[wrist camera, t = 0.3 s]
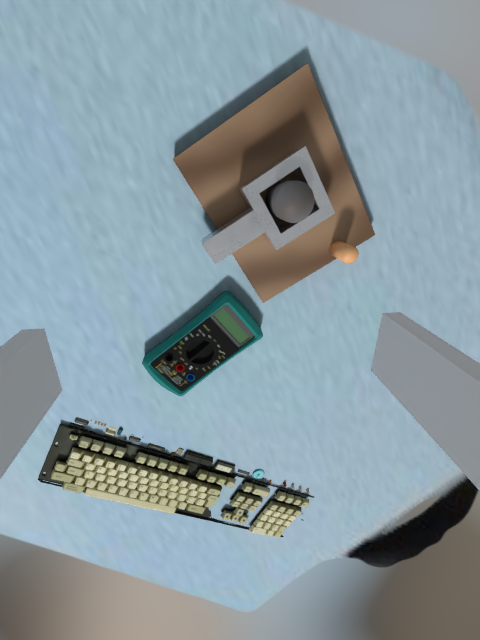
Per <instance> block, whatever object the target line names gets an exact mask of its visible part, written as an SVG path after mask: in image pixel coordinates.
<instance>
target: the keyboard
mask: <svg viewBox="0 0 480 640" xmlns="http://www.w3.org/2000/svg"><path fill="white" fill-rule="evenodd" d="M91 421H92V419H91ZM75 422H77V423H80V424H84V425H87V424H88V423H89V422H88V421H86V420H83V419H79V418H76V420H75ZM96 422H97V421H95V424H96ZM99 424H100V422H98V425H99ZM101 425H103V423H102V424H101ZM105 425H106V424H105ZM105 425H104V426H105ZM75 426H76V427H75ZM83 428H85V427H84V426H80V425H77V424H74V423H71V424H70V425H68V426H65V425H62V424H60V425H59V429H58V431H57V434H56V436H55V438H54V441H53V444H52V446H51V449H50V451H49V453H48V456H47V458H46V461H45V463H44V466H43V468H42V471H41V473H40V475H39V478H38V480H39V481H40V482H43V483H47V484H52V485H56V486H60V487H63V490H68V491H72V492H76V493H82V492H85V495H88V496H92V497H95V498H101V499H107V500H111V501H117V502H121V503H127V504H130V505H135V506H139V507H143V508H147V509H152V510H158V511H163V512H166V513H170V514H174V513H178V514H182V515H186V516H191V517H195V518H200V519H204V520H209V521H213V522H217V523H222V524H226V525H230V526H235V527H239V528H244V529H248V530H250V531H251V532H252V533H258V534H262V535H264V534H266V535H267V536H271V537H272V536H275V537H283V536H281V534H282V533H283V532H284V530H285V529H286V527H288V526H289V525H290V524H291V521H294V519H295V518H296V516H299V515H300V514H301V507H298V506H296V505H300V506H302V507H305V508H306V507H307V506H308V505H309V499H306V498H304V497H299V496H300V495H297V494H293V495H292V494H291V493H289V492H288V491H291V492H295V493H299V492H296V491H292V490H290V489H285V488H282V487H278V486H274V485H271V484H268V483H264V482H262V481H264V480H266V479H267V478H265V479H264V478H263V479H262V481H257V480H254V479H249V478H247V477H244V476H241V475H238V474H234V473H233V471H234V470H235V465H233V464H229V463H226V462H223V461H219V460H218V461H217V463H216V464H215V466H214V467H210V465H211V464H212V462H213V458H210V457H206V456H204V455H202V454H198V453H195V452H192V451H187V452H186V454H185V456H184V457H183V458H181V457H177V456H174V452H172V454H171V455H170V454H167V453H164V452H160V451H164V450H165V448H163V447H160V446H157V445H153V444H150V443H149V444H148V446H147V447H150V448H153V449H157V450H160V451H157V450H153V449H150V448H145V447H142V446H139V445H134V444H132V443H130V442H126V441H122V440H120V439H119V438H113V437H109V436H106V435H104V436H102V435H98V434H96V433H94V432H92V431H88V430H87V429H86V430H85V429H83ZM122 430H123V429H122V428H120V429H119V430H118V432H117V434H118V435H120V434H121V432H122ZM115 431H116V429H115V428H112V427H109V428H108V430H106V432H105V433H106V434H110V435H113V436H115ZM131 435H132V434H131ZM124 436H125V435H123V436H122V437H124ZM133 436H134V435H133ZM133 436H130V437H129V440H132V441H135V442H140V440H141V439H139V438H136V437H133ZM143 437H144V436H143ZM143 437H142V438H143ZM124 438H125V440H126V437H124ZM56 442H58V446H57V447H56V446H54V444H55V443H56ZM183 450H184V449H181V448H179V449H178V450H177V451H176V454H179V455H181V453H182V451H183ZM212 469H213V470H212ZM43 472H46V476H44V475H42V473H43ZM238 472H241V473H244V474H249V472H246V471H243V470H238ZM236 476H238V477H242V478H245V479H246V480H244V481H243V482H242V484H243V486H242V487H241V488H242V489H243V490H241V489H239V490H237V491H236V492H235V496H232V498H231V500H232V501H231V502H230V505H232V506H234V509H232V510H231V511H230V509H229V510H228V509H226V508H224V509H223V510H222V512H223V513H222V514H221V517H222V518H223V519H226V520H229V518H230V519H231V521H234V522H237V521H239V522H240V523H243V524H245V523H246V521H247V519H248V517H249V516H248V515H246V514H245V513H244V510H245V509H246V508H247V509H248V510H250V511H255V509H256V508H257V506H260V504H261V503H262V499H263V498H262V497H260V496H263V497H267V496H268V494H269V492H270V488H267V486H265V485H264V484H267V485H270V486H274V487H277V488H281V489H284V490H288V491H286V492H285V491H284V490H281V489H278V490H277V492H275V493H276V495H275V496H274V497H275V498H276V499H277V500H276V499H270V500H269V501H268V504H267V505H265V507H263V509H262V511H260V513H259V514H258V516H257V517H256V518H255V519H254V522H253V524H252V525H250V526H251V527H250V528H247V527H244V526H242V527H241V526H239V525H232V524H228V523H224V522H223V521H219V520H215V519H214V518H212V517H211V518H212V519H211V518H208V517H210V516H211V511H210V510H209V508H212V507H213V505H214V504H215V502H216V501H217V499H218V498H219V495H220V492H221V489H222V487H221V485H223V484H225V486H226V487H230V488H232V487H233V485H234V484H235V481H236V479H234V478H235V477H236ZM263 476H264V471H263V470H260V469H259V470H256V471H254V473H253V477H254V478H262V477H263ZM248 479H249V480H248ZM42 480H45V481H49V482H45V481H42ZM251 480H252V481H256V482H259V483H263V485H261V484H259V483H256V482H254V483H253V484H252V483H251V482H252V481H251ZM50 482H54V483H58V484H62V485H57V484H53V483H50ZM269 482H270V483H271V480H270V481H269ZM283 484H284V486H285V487H286V482H283ZM291 486H292V489H294V484H292V485H291ZM84 490H85V491H84ZM299 490H300V491H302V490H301V487H299ZM244 491H246V492H244ZM250 491H251V492H250ZM306 491H307V493H308V494H309V489H307V490H306ZM299 494H302V495H306V494H303V493H299ZM259 495H260V496H259ZM306 496H309V497H313V496H310V495H306ZM313 498H314V497H313ZM278 500H279V501H278ZM283 500H284V501H285V502H283ZM286 502H287V503H286ZM291 502H292V503H293V504H291ZM301 520H302V519H301Z"/></svg>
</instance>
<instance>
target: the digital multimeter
mask: <svg viewBox="0 0 480 640" xmlns="http://www.w3.org/2000/svg"><path fill="white" fill-rule="evenodd" d="M204 320H205V321H204ZM195 327H196V328H195ZM190 331H191V332H190ZM262 337H263V333H262V331H261V328H260V327H259V325H258V324H257V322H256V321H255V319H254V318H253V317H252V316H251V314H250V313H249V312H248V311H247V309H246V308H245V307H244V306H243V305H242V304H241V303H240V302H239V301H238V300H237V299H236V298H235V297H234V296H233V295H232V294H231V293H230V292H229V291H225V292H223V293H222V294H221V295H220V296H219V297H218V298H216V299H215V300H214V301H213V302H212V303H211V304H210V305H208V306H207V307H206V308H205V309H204V310H203V311H202V312H200V313H199V314H198V315H197V316H195V317H194V318H193V319H192V320H191V321H189V322H188V323H187V324H186V325H184V326H183V327H182V328H181V329H179V330H178V331H177V332H175V333H174V334H173V335H171V336H170V337H168V338H167V339H166V340H164V341H163V342H162V343H160V344H159V345H158V346H156V347H155V348H153V349H152V350H150V351H149V352H148V353H146V354H145V356H144V359H143V362H142V364H143V365H144V367H145V368H146V370H147V371H148V372H149V374H150V375H151V376H152V377H153V378H154V380H155V381H157V382H158V383H159V384H160V385H161V386H163V387H164V388H166V389H167V390H169V391H171V392H173V393H175V394H176V395H178V396H183V395H185V394H186V393H187V392H188V391H189V390H191V389H192V388H193V387H194V386H195V385H197V384H198V383H199V382H200V381H202V380H203V379H204V378H206V377H207V376H208V375H209V374H211V373H212V372H213V371H214V370H216V369H217V368H219V367H220V366H221V365H223V364H224V363H226V362H227V361H228V360H230V359H231V358H233V357H234V356H235V355H237V354H238V353H240V352H241V351H243V350H244V349H246V348H247V347H249V346H250V345H252V344H253V343H255V342H256V341H258V340H259V339H261V338H262ZM181 338H182V339H181ZM172 345H173V346H172ZM215 350H216V351H215ZM163 352H164V353H163ZM154 359H155V360H154ZM163 376H164V377H165V378H164V377H163Z"/></svg>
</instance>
